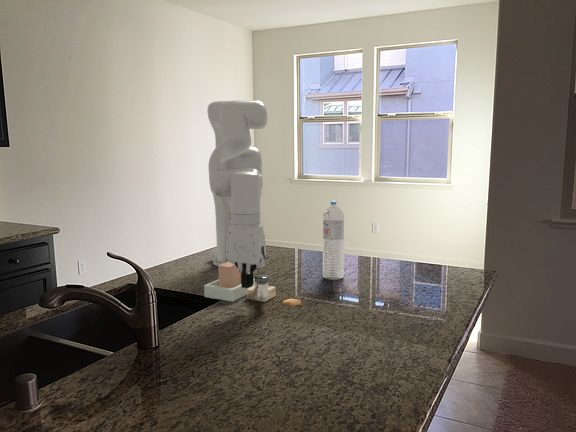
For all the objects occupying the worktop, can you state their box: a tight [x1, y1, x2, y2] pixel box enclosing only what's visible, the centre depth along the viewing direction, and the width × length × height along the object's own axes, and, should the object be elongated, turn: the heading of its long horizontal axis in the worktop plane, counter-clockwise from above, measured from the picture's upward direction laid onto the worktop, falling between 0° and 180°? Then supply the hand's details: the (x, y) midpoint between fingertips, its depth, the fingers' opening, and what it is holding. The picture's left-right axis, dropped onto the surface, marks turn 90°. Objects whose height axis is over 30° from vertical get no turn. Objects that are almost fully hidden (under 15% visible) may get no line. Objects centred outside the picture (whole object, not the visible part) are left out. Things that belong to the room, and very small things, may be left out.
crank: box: [254, 274, 271, 302], centre depth 135 cm, size 14×4×6 cm, turn 5°
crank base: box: [246, 285, 302, 307], centre depth 138 cm, size 16×6×3 cm, turn 61°
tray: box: [203, 278, 255, 303], centre depth 144 cm, size 10×12×4 cm
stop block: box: [217, 261, 241, 289], centre depth 144 cm, size 4×6×8 cm, turn 151°
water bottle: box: [322, 200, 345, 281], centre depth 158 cm, size 7×7×25 cm
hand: (247, 286), depth 131 cm, fingers closed
